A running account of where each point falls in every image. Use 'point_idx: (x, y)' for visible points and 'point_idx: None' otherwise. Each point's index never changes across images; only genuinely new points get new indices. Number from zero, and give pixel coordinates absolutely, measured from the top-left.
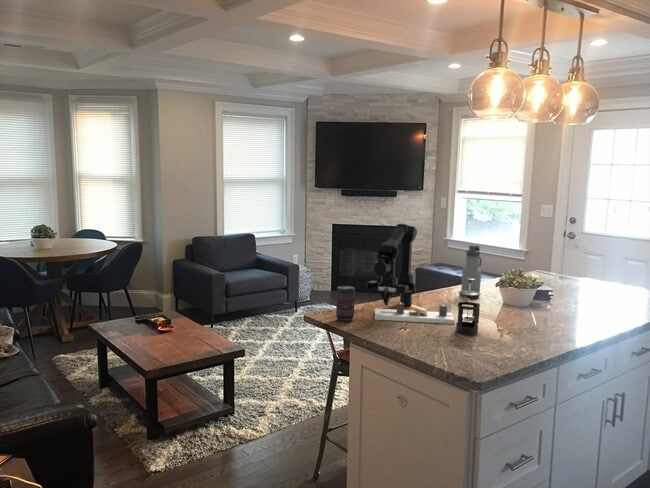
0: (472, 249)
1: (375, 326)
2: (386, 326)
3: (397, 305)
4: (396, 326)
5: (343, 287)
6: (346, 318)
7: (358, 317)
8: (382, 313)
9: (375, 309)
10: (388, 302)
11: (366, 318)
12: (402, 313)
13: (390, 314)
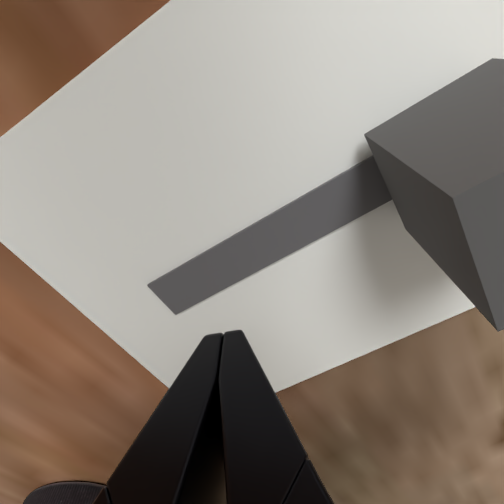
0: None
1: (323, 480)
2: (391, 446)
3: (480, 305)
4: (464, 409)
5: None
6: None
7: (65, 416)
8: None
9: (5, 240)
10: (264, 378)
11: (135, 398)
12: None
13: (334, 308)
